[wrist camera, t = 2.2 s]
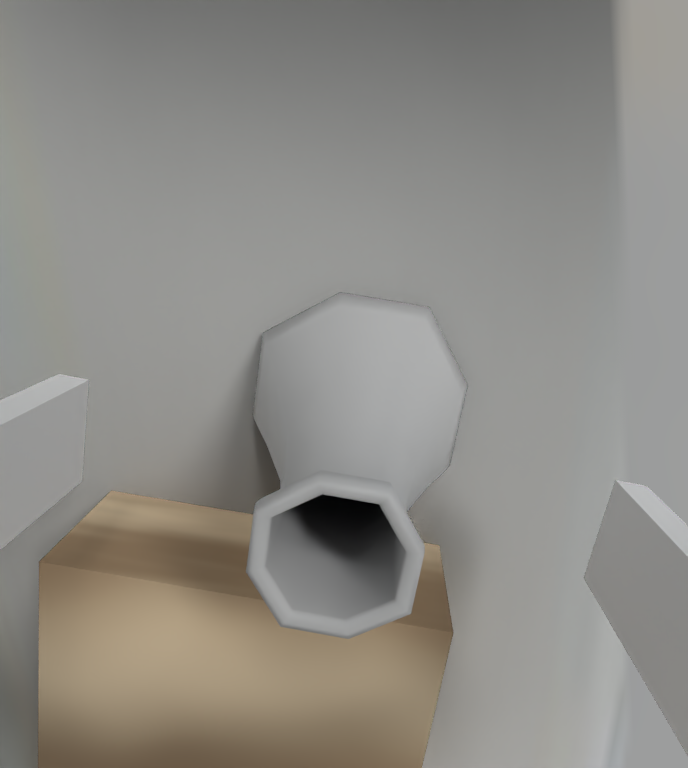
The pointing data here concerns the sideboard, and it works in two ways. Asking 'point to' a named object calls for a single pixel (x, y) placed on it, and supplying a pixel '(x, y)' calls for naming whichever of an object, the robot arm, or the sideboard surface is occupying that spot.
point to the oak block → (217, 655)
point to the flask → (350, 459)
